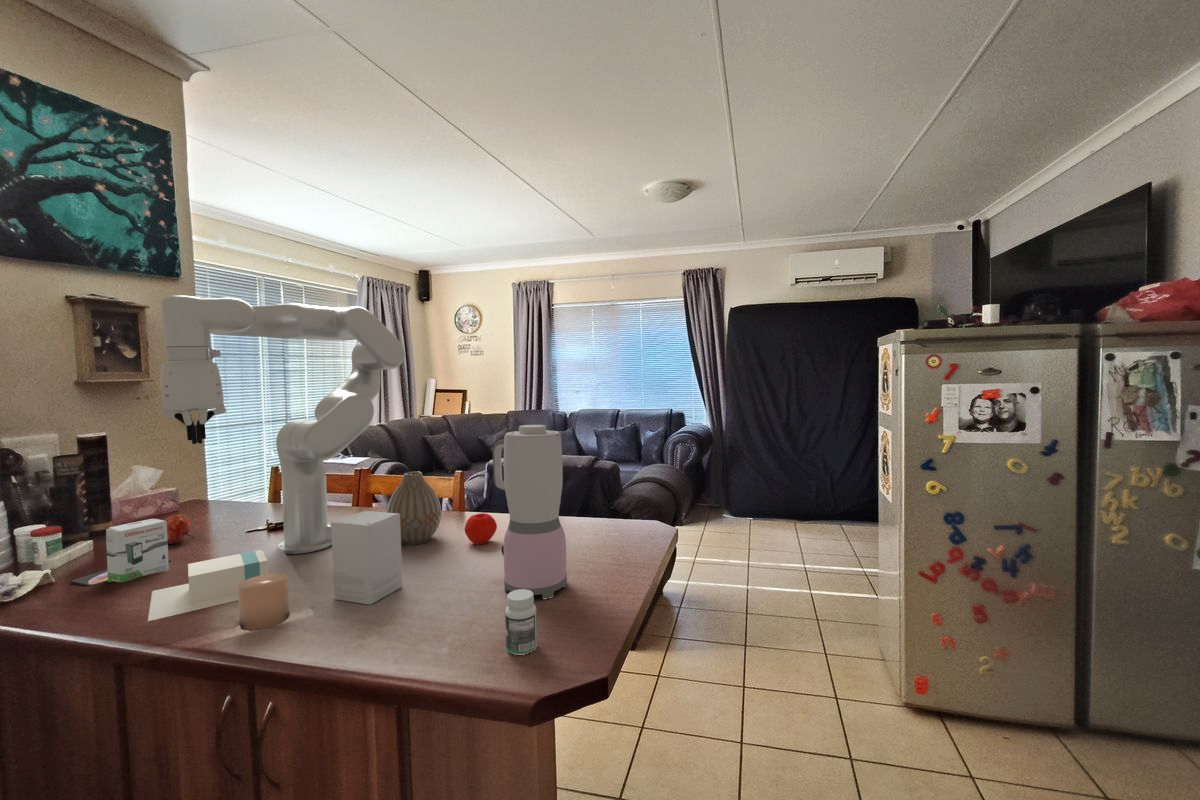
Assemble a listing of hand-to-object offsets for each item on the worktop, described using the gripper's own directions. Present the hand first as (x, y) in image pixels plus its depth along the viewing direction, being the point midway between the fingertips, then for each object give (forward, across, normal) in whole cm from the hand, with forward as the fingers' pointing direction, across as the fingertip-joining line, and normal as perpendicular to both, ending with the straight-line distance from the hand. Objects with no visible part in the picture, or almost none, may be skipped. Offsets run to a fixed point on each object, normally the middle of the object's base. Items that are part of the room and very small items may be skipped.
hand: (197, 443), depth 107 cm
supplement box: (+29, -22, +34) cm, 50 cm away
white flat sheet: (+28, +1, +16) cm, 32 cm away
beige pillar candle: (+28, -6, +34) cm, 44 cm away
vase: (+30, -41, +9) cm, 52 cm away
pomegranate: (+29, +4, -34) cm, 45 cm away
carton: (+25, +4, +16) cm, 29 cm away
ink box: (+28, +11, -7) cm, 31 cm away
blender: (+30, -47, +53) cm, 77 cm away
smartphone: (+29, +14, -15) cm, 35 cm away
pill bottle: (+29, -33, +72) cm, 84 cm away
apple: (+30, -53, +22) cm, 65 cm away
